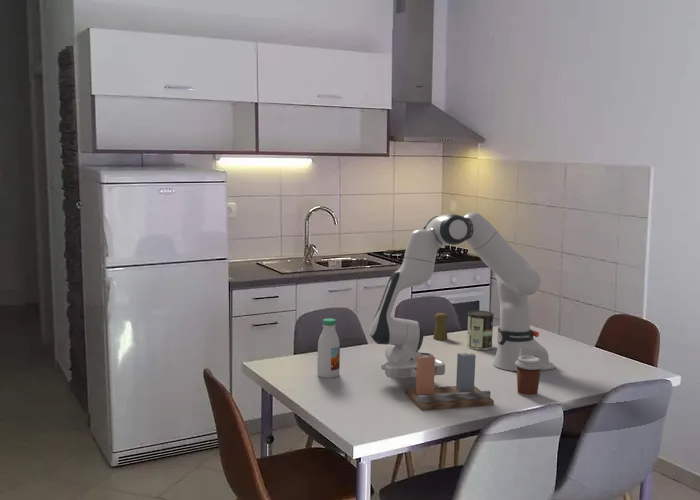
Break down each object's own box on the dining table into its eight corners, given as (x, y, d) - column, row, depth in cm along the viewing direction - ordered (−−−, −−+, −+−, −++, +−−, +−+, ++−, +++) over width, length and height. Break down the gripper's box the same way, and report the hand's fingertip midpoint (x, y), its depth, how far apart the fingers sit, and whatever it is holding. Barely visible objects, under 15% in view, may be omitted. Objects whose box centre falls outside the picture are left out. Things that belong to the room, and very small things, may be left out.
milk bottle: (323, 379, 252) (324, 322, 250) (313, 373, 259) (314, 318, 256) (343, 376, 256) (344, 320, 253) (333, 370, 263) (334, 316, 260)
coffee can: (489, 343, 304) (491, 310, 302) (494, 350, 294) (495, 316, 292) (464, 343, 304) (466, 309, 302) (468, 349, 294) (470, 315, 292)
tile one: (430, 390, 238) (431, 354, 236) (433, 393, 235) (435, 356, 233) (415, 391, 237) (416, 355, 235) (418, 394, 234) (420, 357, 232)
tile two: (470, 388, 242) (471, 352, 240) (473, 391, 239) (475, 354, 237) (456, 389, 240) (457, 352, 239) (459, 392, 237) (461, 355, 236)
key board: (472, 388, 246) (473, 378, 245) (493, 405, 230) (494, 394, 230) (404, 393, 240) (405, 383, 239) (421, 410, 224) (422, 399, 224)
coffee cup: (529, 400, 236) (531, 364, 234) (507, 392, 243) (509, 357, 242) (547, 395, 241) (549, 359, 240) (525, 387, 249) (527, 353, 247)
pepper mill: (446, 341, 307) (448, 315, 306) (432, 340, 308) (433, 314, 307) (448, 337, 313) (449, 312, 311) (433, 336, 314) (434, 311, 313)
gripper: (379, 356, 248) (392, 368, 234) (436, 353, 253) (451, 364, 240) (379, 374, 248) (391, 387, 235) (435, 370, 254) (451, 383, 240)
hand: (422, 375), depth 237 cm, fingers closed
